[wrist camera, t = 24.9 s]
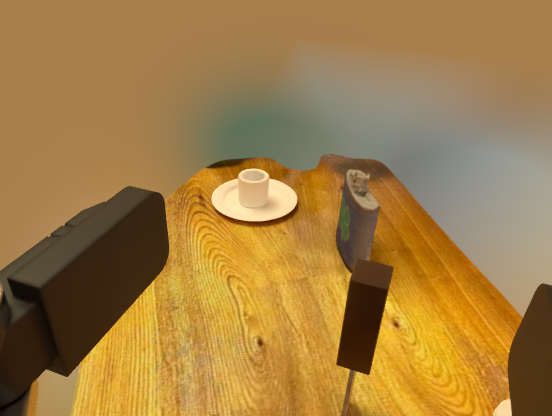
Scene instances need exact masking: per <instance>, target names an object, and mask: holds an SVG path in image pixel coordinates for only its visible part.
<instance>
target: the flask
mask: <svg viewBox="0 0 552 416" xmlns="http://www.w3.org/2000/svg"><path fill="white" fill-rule="evenodd" d="M369 179H370V175H369V174H368V176H366V175H365V173H364V172H362V171H360V170H348V171H347V172H346V174H345V181H344V189H343V196H342V201H341V209H340V216H339V222H338V227H337V232H336V236H335V237H336V245H337V249H338V250H339V252H340V255H341V257H342V259H343V262H344V263H345V266H346V267H347V268H348V269H349V270H350V272H353V269H354V266H355V263H356V261H357V259H358V258H359V259H363V260H367V261H370V256H371V250H372V243H373V238H374V232H375V228H376V223H377V218H378V213H379V209H380V205H379V202H378V201H377V200H376V199H375V197H373V195H372V193H371V192H370V190H369V188H368V185H367V182H366V181H368V180H369Z"/></svg>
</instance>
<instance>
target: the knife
mask: <svg viewBox="0 0 552 416" xmlns="http://www.w3.org/2000/svg"><path fill="white" fill-rule="evenodd" d="M392 272H393V267H392V266H388V265H384V264H380V263H376V262H371V261H367V260H363V259H359V258H358V259H357V261H356V263H355V266H354V269H353V272H352V275H351V278H350V282H349V288H348V295H347V301H346V307H345V313H344V319H343V325H342V332H341V338H340V344H339V350H338V356H337V362H336V365H338V366H341V367H344V368H348V369H350V373H349V378H348V384H347V389H346V394H345V400H344V405H343V410H342V415H341V416H347V412H348V408H349V404H350V400H351V395H352V390H353V385H354V380H355V375H356V371H357V372H360V373H364V374H367V375H369V374H370V370H371V366H372V362H373V357H374V353H375V348H376V344H377V339H378V335H379V330H380V326H381V321H382V317H383V313H384V308H385V304H386V299H387V295H388V290H389V286H390V281H391V277H392Z"/></svg>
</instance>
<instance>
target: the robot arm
mask: <svg viewBox="0 0 552 416" xmlns="http://www.w3.org/2000/svg"><path fill="white" fill-rule="evenodd" d="M168 254H169V241H168V231H167V221H166V211H165V202H164V198H163V196H162V195H161V194H160V193H158V192H153V191H149V190H145V189H141V188H136V187H132V186H129V187H126V188H124V189H123V190H121V191H120V192H119V193H117V194H116V195H115V196H114V197H112V198H111V199H109V200H108V201H107V202H102V203H100V204H97V205H95V206H92V207H90V208H88V209H85V210H83V211H81V212H80V213H78V214H77V215H76V216H74V217H73V218H72V219H71V220H69V221H68V222H66V223H65V226H61V227H59V228H58V229H57V230H55V231H54V232H53V233H51V236H50V237H46V238H44V239H43V240H42V241H40V242H39V243H38V244H36V245H35V246H33V247H32V248H31V249H30V250H28V251H27V252H25V253H24V254H23V255H21V256H20V257H18V258H17V259H16V260H15V261H13V262H12V263H10V264H9V265H8V266H6V267H5V268H4V269H2V270H1V271H0V416H35V412H36V405H37V397H38V382H37V380H36V379H37V378H38V377H39V376H40V375H41V374H42V373H43V372H44V371H45V370H46V369H47V370H50V371H52V372H55V373H58V374H60V375H63V376H66V377H68V376H69V375H70V374H71V372H72V371H73V370H74V369H75V368H76V367H77V366H78V365H79V363H80V362H81V361H82V360H83V359H84V358H85V357H86V356H87V354H88V353H89V352H90V351H91V350H92V349H93V348H94V347H95V345H96V344H97V343H98V342H99V341H100V340H101V339H102V338H103V336H104V335H105V334H106V333H107V332H108V331H109V330H110V329H111V327H112V326H113V325H114V324H115V323H116V322H117V321H118V320H119V318H120V317H121V316H122V315H123V314H124V313H125V312H126V311H127V309H128V308H129V307H130V306H131V305H132V304H133V303H134V302H135V301H136V299H137V298H138V297H139V296H140V295H141V294H142V293H143V292H144V290H145V289H146V288H147V287H148V286H149V285H150V284H151V283H152V281H153V280H154V279H155V278H156V277H157V276H158V275H159V274H160V272H161V271H162V270H163V268H164V266H165V264H166V261H167V258H168ZM508 379H509V390H510V401H511V412H512V416H552V286H551V285H547V284H541V285H540V286H539V287H538V288H537V290H536V291H535V294H534V296H533V298H532V300H531V302H530V304H529V306H528V309H527V311H526V313H525V315H524V317H523V319H522V322H521V324H520V326H519V328H518V330H517V333H516V335H515V337H514V339H513V342H512V345H511V348H510V353H509V359H508Z"/></svg>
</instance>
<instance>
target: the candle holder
mask: <svg viewBox="0 0 552 416" xmlns="http://www.w3.org/2000/svg"><path fill="white" fill-rule="evenodd" d="M212 204H213V205H214V207H215V208H216V209H217V210H218V211H219V212H221V213H222V214H224V215H226V216H228V217H231V218H234V219H238V220H243V221H267V220H273V219H276V218H279V217H282V216H284V215H286V214H288V213H289V212H291V211H292V210H293V209H294V208H295V206H296V204H297V196H296V193H295V192H294V191H293V190H292V189H291V188H290V187H289V186H287V185H286V184H284V183H282V182H279V181H277V180H273V179H269V175H268V173H266V172H265V171H263V170H260V169H247V170H244V171H242V172H241V173H240V174H239V176H238V179H235V180H231V181H228V182H226V183H224V184H222V185H220V186H219V187H218V188H217V189H216V190H215V191H214V192H213V194H212Z"/></svg>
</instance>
